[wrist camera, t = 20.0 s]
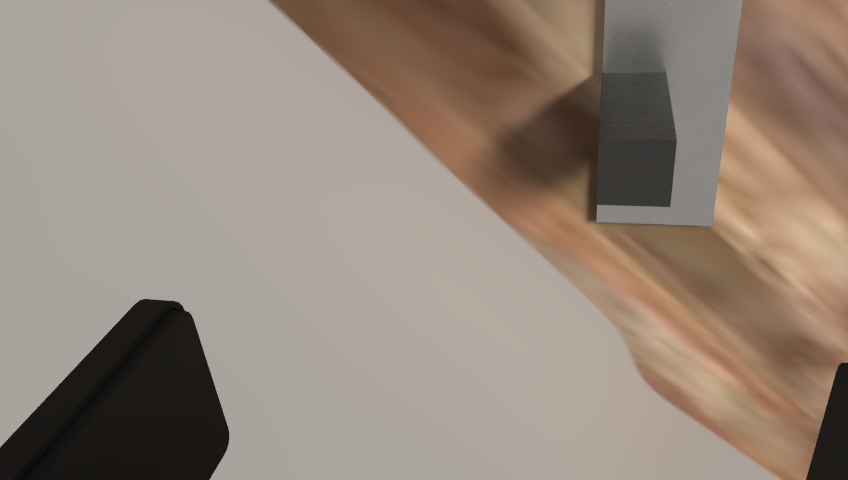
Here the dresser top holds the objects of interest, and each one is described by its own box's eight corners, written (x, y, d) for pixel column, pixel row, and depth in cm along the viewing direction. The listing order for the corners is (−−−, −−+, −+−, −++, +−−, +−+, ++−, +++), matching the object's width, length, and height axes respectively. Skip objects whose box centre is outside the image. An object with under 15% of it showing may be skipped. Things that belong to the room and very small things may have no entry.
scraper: (597, 213, 40) (591, 309, 33) (607, -49, 33) (603, -2, 26) (709, 216, 39) (730, 317, 32) (746, -57, 32) (784, -8, 24)
